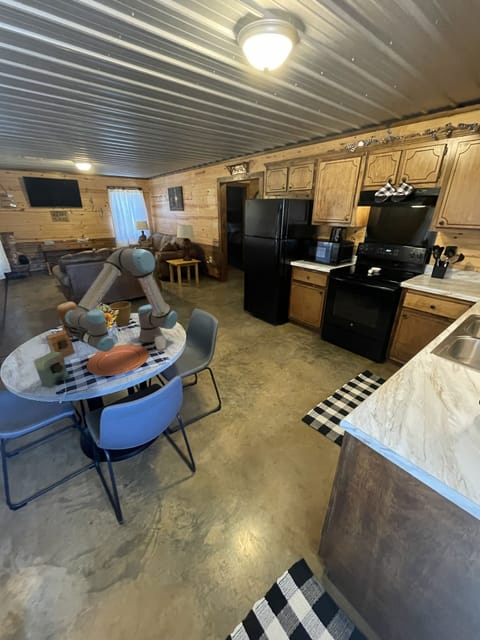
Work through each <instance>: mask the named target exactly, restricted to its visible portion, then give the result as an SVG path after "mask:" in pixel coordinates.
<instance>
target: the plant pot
mask: <svg viewBox="0 0 480 640" xmlns="http://www.w3.org/2000/svg"><path fill="white" fill-rule="evenodd" d="M109 307H110V308H111V309H112V310H119V315H118V317H117V320H116V321H115V322H116V324H117V325H118V327H126V326H128V325H130V321H131V313H132V304H131V302H129V301H117V302H114V303H110V304H109V305H108V308H109Z"/></svg>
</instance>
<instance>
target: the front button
mask: <svg viewBox="0 0 480 640" xmlns="http://www.w3.org/2000/svg"><path fill="white" fill-rule="evenodd" d="M51 370H52V372H56V373H60V372H62V370H63V366H62V365H58V364H54V365H53V366H52V367H51Z"/></svg>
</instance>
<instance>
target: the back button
mask: <svg viewBox="0 0 480 640" xmlns="http://www.w3.org/2000/svg"><path fill="white" fill-rule="evenodd" d="M58 346H59V347H61V348H63V349H65V348H67V347H68V343H67V342H65V341H60V342H59V344H58Z"/></svg>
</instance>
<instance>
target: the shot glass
mask: <svg viewBox="0 0 480 640" xmlns="http://www.w3.org/2000/svg"><path fill="white" fill-rule="evenodd" d="M154 340H155V342H154V344H155V348H156V350H158V351H162V350H165V349H166V343H167V341H166V336H165V335H163V336H157V337H155V338H154Z"/></svg>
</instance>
